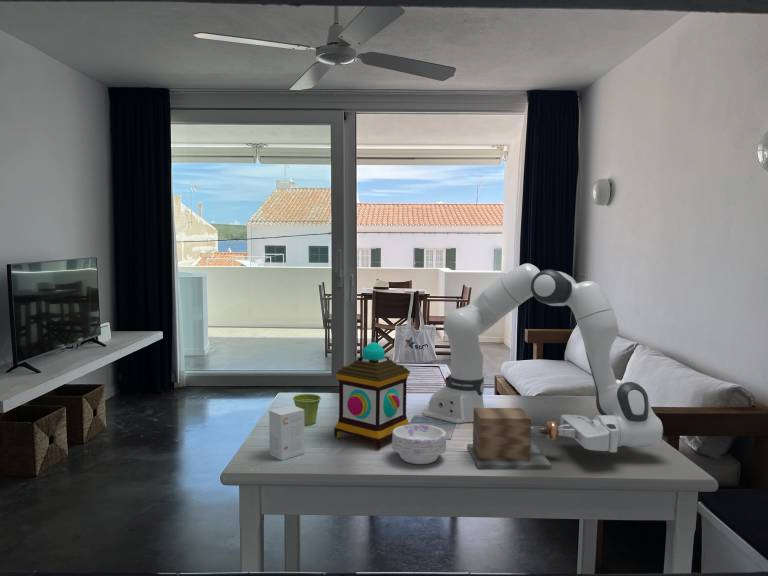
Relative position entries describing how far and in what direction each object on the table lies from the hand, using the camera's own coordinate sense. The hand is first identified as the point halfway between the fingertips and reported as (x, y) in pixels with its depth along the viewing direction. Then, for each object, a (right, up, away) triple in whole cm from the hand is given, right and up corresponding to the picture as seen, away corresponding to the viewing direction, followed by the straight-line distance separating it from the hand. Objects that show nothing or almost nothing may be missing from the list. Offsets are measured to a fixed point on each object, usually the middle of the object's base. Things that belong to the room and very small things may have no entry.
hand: (555, 430), depth 159 cm
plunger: (-9, -2, 0) cm, 9 cm away
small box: (-77, -7, +1) cm, 77 cm away
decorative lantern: (-52, -6, +16) cm, 55 cm away
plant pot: (-75, -5, +29) cm, 80 cm away
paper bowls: (-39, -8, -1) cm, 40 cm away
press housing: (-14, -8, 0) cm, 16 cm away
